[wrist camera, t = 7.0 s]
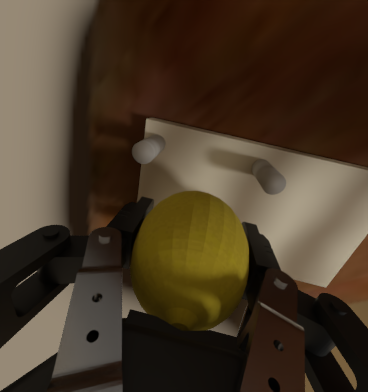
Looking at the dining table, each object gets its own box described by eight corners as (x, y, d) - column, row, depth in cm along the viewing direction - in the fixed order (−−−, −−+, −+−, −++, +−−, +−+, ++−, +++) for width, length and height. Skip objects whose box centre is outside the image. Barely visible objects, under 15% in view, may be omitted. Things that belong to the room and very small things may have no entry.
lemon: (175, 157, 12) (121, 234, 5) (254, 195, 12) (313, 319, 5) (146, 223, 14) (81, 341, 7) (213, 253, 15) (215, 394, 8)
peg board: (389, 172, 13) (466, 201, 9) (317, 273, 18) (348, 323, 14) (152, 117, 14) (128, 122, 10) (138, 229, 18) (118, 264, 14)
